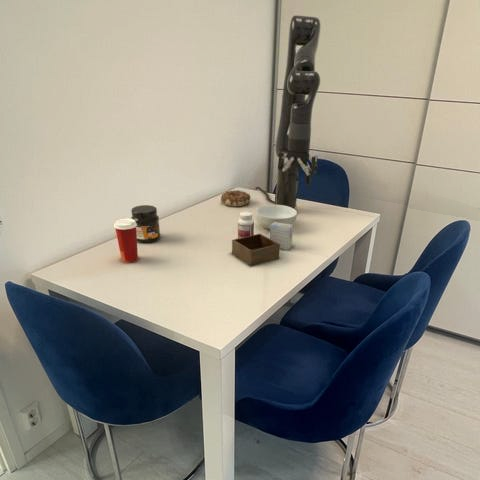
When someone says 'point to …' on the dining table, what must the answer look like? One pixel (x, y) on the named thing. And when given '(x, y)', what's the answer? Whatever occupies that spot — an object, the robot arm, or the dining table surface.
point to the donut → (235, 198)
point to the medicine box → (282, 234)
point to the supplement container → (146, 223)
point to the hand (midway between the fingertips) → (296, 183)
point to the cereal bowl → (275, 215)
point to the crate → (255, 249)
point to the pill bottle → (245, 225)
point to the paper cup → (127, 239)
